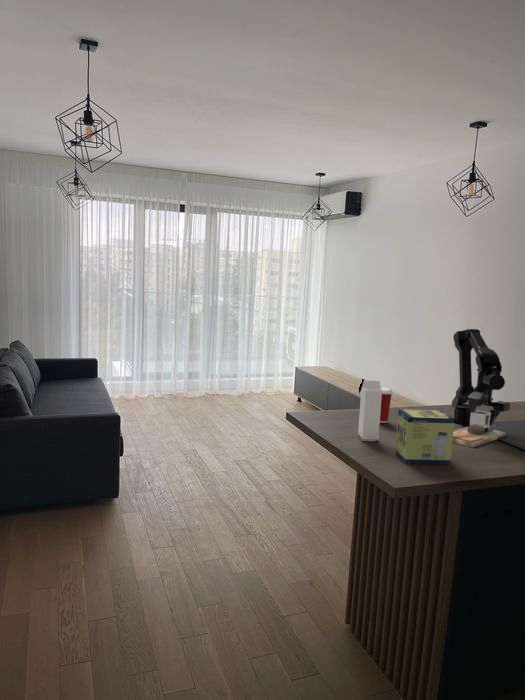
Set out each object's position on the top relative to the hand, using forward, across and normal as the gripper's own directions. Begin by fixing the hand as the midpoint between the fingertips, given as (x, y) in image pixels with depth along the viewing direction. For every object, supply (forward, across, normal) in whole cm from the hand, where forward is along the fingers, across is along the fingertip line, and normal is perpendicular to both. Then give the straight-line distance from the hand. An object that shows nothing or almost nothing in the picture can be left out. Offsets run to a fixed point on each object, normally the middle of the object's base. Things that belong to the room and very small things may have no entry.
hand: (480, 424), depth 208 cm
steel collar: (0, 0, 0) cm, 0 cm away
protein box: (+5, +3, -45) cm, 45 cm away
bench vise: (+3, 0, +1) cm, 3 cm away
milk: (+5, -21, -43) cm, 48 cm away
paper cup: (+5, -34, -18) cm, 39 cm away
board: (+4, 0, -5) cm, 7 cm away
